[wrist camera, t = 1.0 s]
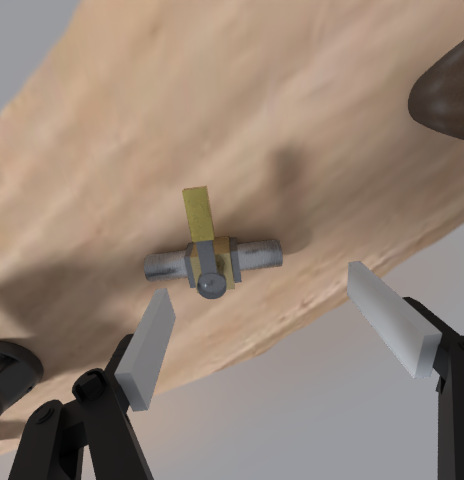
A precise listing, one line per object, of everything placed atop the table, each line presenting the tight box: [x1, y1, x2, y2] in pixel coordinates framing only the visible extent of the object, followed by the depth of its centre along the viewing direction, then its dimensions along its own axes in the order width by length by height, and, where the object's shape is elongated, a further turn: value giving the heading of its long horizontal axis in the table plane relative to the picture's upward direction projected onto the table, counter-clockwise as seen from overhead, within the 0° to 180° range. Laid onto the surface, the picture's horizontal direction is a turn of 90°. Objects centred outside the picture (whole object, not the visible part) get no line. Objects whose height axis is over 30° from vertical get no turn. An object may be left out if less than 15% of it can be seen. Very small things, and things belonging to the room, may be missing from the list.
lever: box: [182, 186, 227, 299], centre depth 32 cm, size 17×4×2 cm, turn 7°
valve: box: [144, 236, 283, 293], centre depth 40 cm, size 24×7×9 cm, turn 97°
